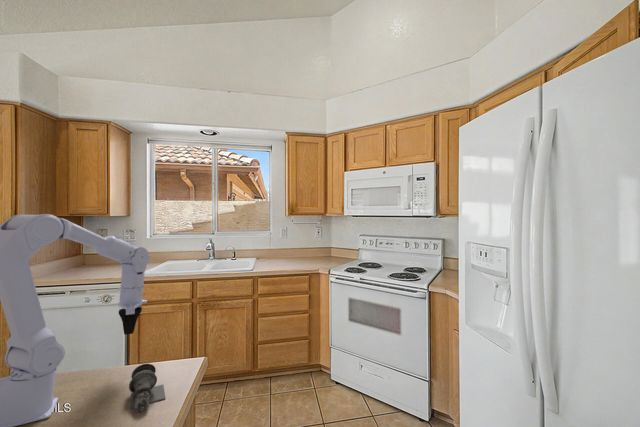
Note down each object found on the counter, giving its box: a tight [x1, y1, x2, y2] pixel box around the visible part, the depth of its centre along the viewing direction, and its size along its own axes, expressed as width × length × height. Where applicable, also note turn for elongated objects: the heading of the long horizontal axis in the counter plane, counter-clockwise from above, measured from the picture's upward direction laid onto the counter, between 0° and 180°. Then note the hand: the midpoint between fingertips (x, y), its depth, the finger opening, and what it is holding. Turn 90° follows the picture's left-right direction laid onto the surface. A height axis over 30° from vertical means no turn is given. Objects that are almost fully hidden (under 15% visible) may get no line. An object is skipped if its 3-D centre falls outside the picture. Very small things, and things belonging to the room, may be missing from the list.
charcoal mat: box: [130, 384, 166, 409], centre depth 68 cm, size 7×7×1 cm
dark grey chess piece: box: [128, 363, 158, 412], centre depth 66 cm, size 6×6×12 cm
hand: (128, 333), depth 81 cm, fingers closed
